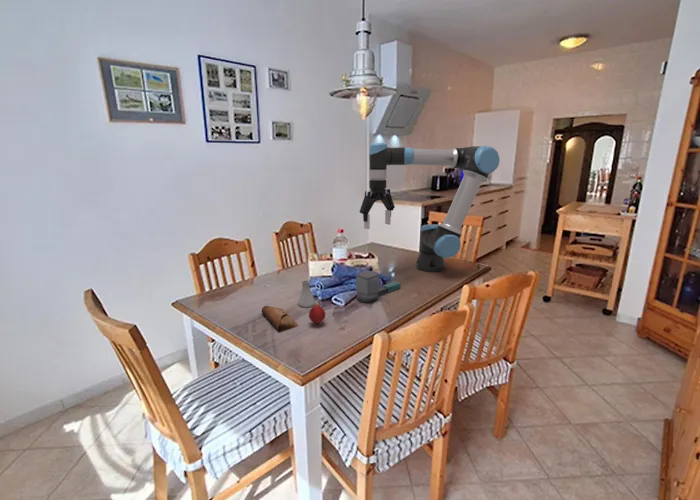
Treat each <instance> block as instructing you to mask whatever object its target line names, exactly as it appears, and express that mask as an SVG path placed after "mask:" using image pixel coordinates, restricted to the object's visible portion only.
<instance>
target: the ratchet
mask: <svg viewBox="0 0 700 500" xmlns="http://www.w3.org/2000/svg"><path fill="white" fill-rule="evenodd" d="M400 289H401V282H399V281H396V280H394V281H391V282H389V283H386V284H383V285H382V286H380V287H379V292H378V293H375V294H373V295H370V296H365V295H362V294H360V293H357V292H356V301H358V302H359V303H364V304H372V303H376V302H377V301H379V297H380V296H383V295H386V294H390V293H392V292H395V291H398V290H400Z"/></svg>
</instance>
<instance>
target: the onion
mask: <svg viewBox="0 0 700 500" xmlns="http://www.w3.org/2000/svg"><path fill="white" fill-rule="evenodd" d="M310 308H311V309H310V310H309V313H308V317H309V319H310V321H311V322H312V323H314V324H316V325H319V324H320V323H322V322H323V321H324V320H325V318H326V311H325V310H324V308H323V307H321V306H320V304H319V303H316V304H315V305H313V306H311V307H310Z"/></svg>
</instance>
